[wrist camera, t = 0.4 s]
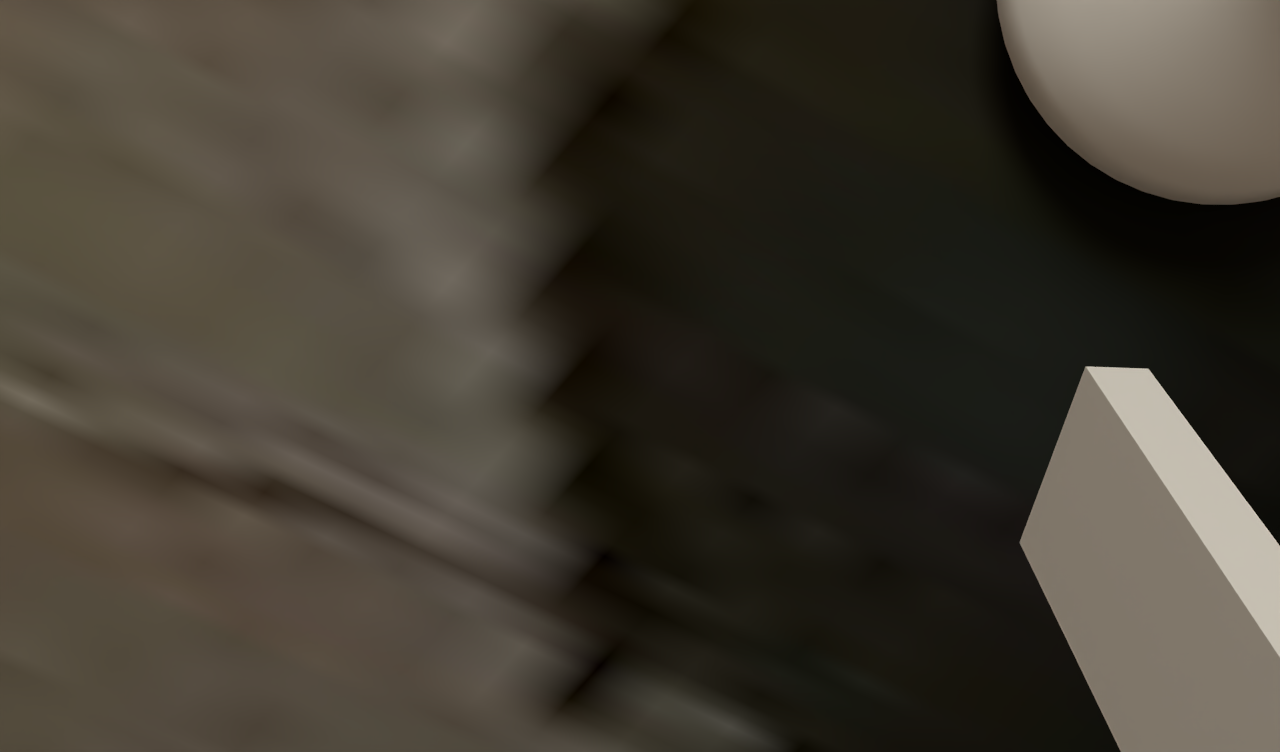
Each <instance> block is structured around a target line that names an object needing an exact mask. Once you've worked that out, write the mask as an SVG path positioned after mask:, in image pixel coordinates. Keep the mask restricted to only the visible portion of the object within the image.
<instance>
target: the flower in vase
mask: <svg viewBox="0 0 1280 752" xmlns="http://www.w3.org/2000/svg"><path fill="white" fill-rule="evenodd" d="M997 7H998V16H999V20H1000V24H1001V29H1002V33H1003V38H1004V42H1005V46H1006V48H1007V51H1008V54H1009V56H1010V59H1011V62H1012V65H1013V67H1014V70H1015V73H1016V75H1017V77H1018V78H1019V80H1020V82H1021V84H1022V86H1023V88H1024V90H1025V92H1026V94H1027V95H1028V97H1029V99H1030V101H1031V102H1032V103H1033V105H1034V106H1035V108H1036V109H1037V110H1038V112H1039V113H1040V115H1041V116H1042V117H1043V119H1044V120H1045V122H1046V123H1047V124H1048V125H1049V126H1050V128H1051V129H1052V130H1053V131H1054V132H1055V133H1056V134H1057V135H1058V136H1059V137H1060V138H1061V139H1062V140H1063V141H1064V142H1065V143H1066V145H1067V146H1069V147H1070V148H1071V149H1072V150H1073V151H1075V152H1076V153H1077V154H1078V155H1080V156H1081V157H1082V158H1083V159H1085V160H1086V161H1087V162H1088V163H1089V164H1091V165H1092V166H1094V167H1096V168H1097V169H1099V170H1101V171H1102V172H1104V173H1106V174H1107V175H1109V176H1110V177H1112V178H1114V179H1115V180H1117V181H1120V182H1122V183H1124V184H1127V185H1129V186H1131V187H1133V188H1136V189H1138V190H1140V191H1143V192H1146V193H1149V194H1153V195H1156V196H1160V197H1163V198H1167V199H1170V200H1175V201H1182V202H1189V203H1196V204H1209V205H1234V204H1243V203H1251V202H1259V201H1265V200H1269V199H1273V198H1277V197H1280V0H997Z"/></svg>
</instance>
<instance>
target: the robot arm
mask: <svg viewBox="0 0 1280 752" xmlns="http://www.w3.org/2000/svg"><path fill="white" fill-rule="evenodd" d="M1020 544H1021V546H1022V548H1023V550H1024V552H1025V555H1026V557H1027V559H1028V561H1029V563H1030V565H1031V567H1032V569H1033V571H1034V573H1035V575H1036V577H1037V579H1038V581H1039V583H1040V586H1041V588H1042V590H1043V592H1044V594H1045V596H1046V598H1047V600H1048V602H1049V604H1050V606H1051V608H1052V610H1053V612H1054V614H1055V617H1056V619H1057V621H1058V623H1059V625H1060V627H1061V629H1062V631H1063V633H1064V635H1065V637H1066V639H1067V641H1068V643H1069V645H1070V648H1071V650H1072V652H1073V654H1074V656H1075V658H1076V660H1077V662H1078V664H1079V666H1080V668H1081V670H1082V672H1083V674H1084V676H1085V679H1086V681H1087V683H1088V685H1089V687H1090V689H1091V691H1092V693H1093V695H1094V697H1095V699H1096V701H1097V703H1098V705H1099V707H1100V710H1101V712H1102V714H1103V716H1104V718H1105V720H1106V722H1107V724H1108V726H1109V728H1110V730H1111V732H1112V734H1113V736H1114V738H1115V741H1116V743H1117V745H1118V747H1119V749H1120V751H1121V752H1280V546H1279V544H1278V543H1277V542H1276V540H1275V539H1274V538H1273V536H1272V535H1271V533H1270V532H1269V531H1268V529H1267V528H1266V527H1265V525H1264V524H1263V523H1262V521H1261V520H1260V519H1259V517H1258V516H1257V515H1256V513H1255V512H1254V511H1253V509H1252V508H1251V506H1250V505H1249V504H1248V502H1247V501H1246V500H1245V498H1244V497H1243V496H1242V494H1241V493H1240V492H1239V490H1238V489H1237V488H1236V486H1235V485H1234V484H1233V482H1232V481H1231V480H1230V478H1229V477H1228V475H1227V474H1226V473H1225V471H1224V470H1223V469H1222V467H1221V466H1220V465H1219V463H1218V462H1217V461H1216V459H1215V458H1214V457H1213V455H1212V454H1211V453H1210V451H1209V450H1208V449H1207V447H1206V446H1205V444H1204V443H1203V442H1202V440H1201V439H1200V438H1199V436H1198V435H1197V434H1196V432H1195V431H1194V430H1193V428H1192V427H1191V426H1190V424H1189V423H1188V422H1187V420H1186V419H1185V417H1184V416H1183V415H1182V413H1181V412H1180V411H1179V409H1178V408H1177V407H1176V405H1175V404H1174V403H1173V401H1172V400H1171V399H1170V397H1169V396H1168V395H1167V393H1166V392H1165V391H1164V389H1163V388H1162V386H1161V385H1160V384H1159V382H1158V381H1157V380H1156V378H1155V377H1154V376H1153V374H1152V373H1151V372H1150V370H1149V369H1140V368H1112V367H1085V370H1084V372H1083V375H1082V378H1081V380H1080V383H1079V386H1078V388H1077V391H1076V394H1075V396H1074V399H1073V402H1072V404H1071V407H1070V410H1069V412H1068V415H1067V418H1066V420H1065V423H1064V426H1063V428H1062V431H1061V434H1060V436H1059V439H1058V442H1057V444H1056V447H1055V450H1054V452H1053V455H1052V458H1051V460H1050V463H1049V466H1048V468H1047V471H1046V474H1045V476H1044V479H1043V482H1042V484H1041V487H1040V490H1039V492H1038V495H1037V498H1036V500H1035V503H1034V506H1033V508H1032V511H1031V514H1030V516H1029V519H1028V522H1027V524H1026V527H1025V530H1024V532H1023V535H1022V538H1021V540H1020Z"/></svg>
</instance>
